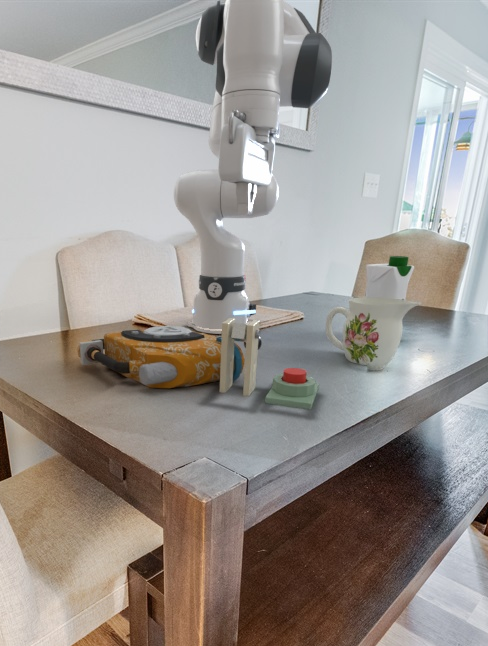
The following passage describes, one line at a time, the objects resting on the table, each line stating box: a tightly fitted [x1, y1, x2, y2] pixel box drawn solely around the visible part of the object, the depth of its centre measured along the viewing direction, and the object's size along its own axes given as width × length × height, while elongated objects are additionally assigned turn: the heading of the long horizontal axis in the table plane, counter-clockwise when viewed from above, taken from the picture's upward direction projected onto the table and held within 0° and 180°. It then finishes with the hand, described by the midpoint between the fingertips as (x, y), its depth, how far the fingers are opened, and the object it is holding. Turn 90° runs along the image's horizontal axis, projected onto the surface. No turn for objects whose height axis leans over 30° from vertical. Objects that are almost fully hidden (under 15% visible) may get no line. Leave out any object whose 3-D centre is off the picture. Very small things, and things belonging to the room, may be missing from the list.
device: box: [76, 325, 245, 389], centre depth 87 cm, size 23×8×30 cm
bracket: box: [219, 318, 261, 397], centre depth 75 cm, size 10×8×13 cm
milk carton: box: [364, 255, 415, 300], centre depth 112 cm, size 9×9×20 cm
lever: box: [231, 323, 263, 351], centre depth 78 cm, size 13×3×3 cm, turn 158°
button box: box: [264, 373, 320, 410], centre depth 75 cm, size 10×7×4 cm
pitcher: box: [325, 296, 422, 371], centre depth 93 cm, size 11×18×14 cm, turn 46°
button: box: [282, 367, 308, 384], centre depth 74 cm, size 4×4×2 cm
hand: (244, 214), depth 77 cm, fingers closed
